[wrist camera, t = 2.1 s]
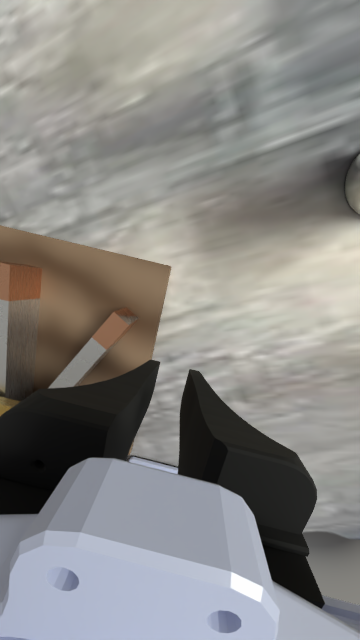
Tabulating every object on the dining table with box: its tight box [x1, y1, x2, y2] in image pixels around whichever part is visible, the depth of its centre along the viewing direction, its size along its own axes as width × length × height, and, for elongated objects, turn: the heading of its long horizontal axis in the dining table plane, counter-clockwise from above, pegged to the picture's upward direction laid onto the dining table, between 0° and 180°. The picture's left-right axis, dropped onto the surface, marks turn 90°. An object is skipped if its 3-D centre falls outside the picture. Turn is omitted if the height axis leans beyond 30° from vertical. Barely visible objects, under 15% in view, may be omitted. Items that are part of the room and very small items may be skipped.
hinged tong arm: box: [49, 307, 139, 388], centre depth 18 cm, size 17×2×3 cm, turn 137°
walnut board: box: [0, 226, 171, 455], centre depth 20 cm, size 22×18×1 cm
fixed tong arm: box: [0, 261, 42, 401], centre depth 18 cm, size 18×4×3 cm, turn 167°
